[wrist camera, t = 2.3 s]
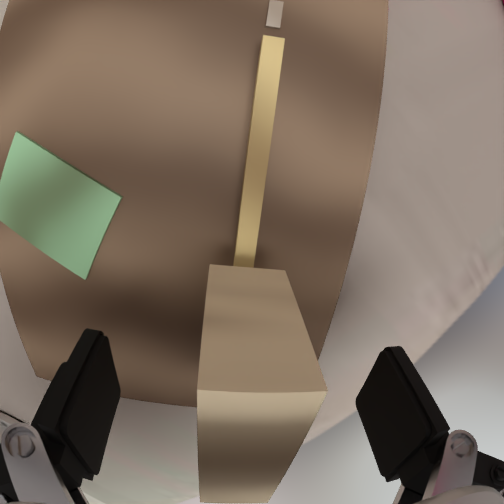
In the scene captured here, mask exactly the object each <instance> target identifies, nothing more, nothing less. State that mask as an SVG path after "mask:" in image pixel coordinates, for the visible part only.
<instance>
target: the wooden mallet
mask: <svg viewBox="0 0 504 504" xmlns="http://www.w3.org/2000/svg"><path fill="white" fill-rule="evenodd" d="M284 42H285V38H280V37H273V36H267V35H263V37H262V41H261V48H260V55H259V62H258V69H257V76H256V84H255V91H254V98H253V106H252V114H251V121H250V129H249V137H248V145H247V152H246V161H245V169H244V177H243V185H242V193H241V202H240V210H239V219H238V228H237V236H236V245H235V254H234V264H233V266H225V265H213V264H210V266H209V274H208V283H207V291H206V300H205V310H204V319H203V329H202V339H201V350H200V361H199V372H198V384H197V436H198V470H199V492H200V502H204V503H268V501H269V500H270V498H271V496H272V495H273V493H274V492H275V490H276V488H277V486H278V485H279V483H280V482H281V480H282V478H283V477H284V475H285V473H286V471H287V470H288V468H289V466H290V465H291V463H292V461H293V459H294V457H295V456H296V454H297V452H298V450H299V448H300V447H301V445H302V443H303V441H304V439H305V437H306V435H307V433H308V431H309V429H310V427H311V425H312V423H313V421H314V419H315V417H316V415H317V413H318V411H319V409H320V407H321V405H322V403H323V401H324V398H325V396H326V394H327V392H328V390H327V387H326V384H325V381H324V378H323V375H322V372H321V369H320V366H319V364H318V361H317V358H316V355H315V352H314V349H313V346H312V343H311V341H310V338H309V335H308V332H307V329H306V326H305V324H304V321H303V318H302V315H301V312H300V310H299V307H298V304H297V301H296V299H295V296H294V293H293V290H292V288H291V285H290V282H289V279H288V277H287V274H286V271H285V270H275V269H262V268H253V267H254V260H255V253H256V246H257V239H258V232H259V225H260V217H261V210H262V203H263V196H264V189H265V181H266V174H267V167H268V160H269V153H270V145H271V138H272V131H273V123H274V116H275V109H276V101H277V94H278V87H279V79H280V72H281V64H282V57H283V49H284Z"/></svg>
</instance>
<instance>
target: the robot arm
mask: <svg viewBox="0 0 504 504" xmlns="http://www.w3.org/2000/svg"><path fill="white" fill-rule="evenodd" d="M120 393H121V389H120V385H119V381H118V377H117V373H116V369H115V365H114V361H113V356H112V352H111V348H110V343H109V339H108V337H107V336H104V333H103V332H102V331H99V330H94V329H88V328H86V329H85V330H84V331H83V333H82V335H81V337H80V338H79V340H78V342H77V344H76V346H75V347H74V349H73V351H72V353H71V355H70V357H69V359H68V360H67V362H63V363H62V364H61V365H60V366H59V368H58V370H57V372H56V374H55V376H54V378H53V380H52V382H51V384H50V386H49V388H48V390H47V392H46V394H45V396H44V398H43V400H42V402H41V404H40V406H39V408H38V410H37V412H36V415H35V417H34V419H33V421H32V423H31V425H29V424H27V423H21V422H19V421H17V420H16V419H14V418H12V417H10V416H8V415H6V414H4V413H1V412H0V504H89V502H88V501H87V499H86V497H85V496H84V494H83V492H82V490H81V488H80V486H81V483H82V479H83V478H85V479H88V480H91V481H93V476H94V475H98V474H99V471H100V467H101V463H102V459H103V455H104V451H105V448H106V444H107V440H108V436H109V433H110V429H111V426H112V422H113V419H114V415H115V412H116V408H117V405H118V402H119V398H120ZM356 407H357V410H358V412H359V415H360V418H361V421H362V423H363V426H364V429H365V432H366V434H367V437H368V440H369V443H370V445H371V448H372V451H373V454H374V457H375V459H376V462H377V465H378V468H379V471H380V473H381V475H382V476H384V477H385V479H386V482H390V481H393V480H397V479H399V478H400V480H401V486H400V489H399V491H398V493H397V495H396V497H395V500H394V502H393V504H504V462H503V461H502V460H499V459H496V458H494V457H492V456H489V455H486V454H484V453H482V452H479V451H478V449H477V448H478V447H477V442H476V440H475V438H474V437H473V436H472V435H471V434H470V433H469V432H467V431H464V430H455V431H453V432H451V434H450V435H449V433H448V430H449V429H450V427H449V426H448V424H447V422H446V420H445V418H444V417H443V415H442V413H441V411H440V410H439V408H438V406H437V404H436V403H435V401H434V399H433V397H432V395H431V394H430V392H429V390H428V389H427V387H426V385H425V383H424V382H423V380H422V379H421V377H420V375H419V374H418V372H417V370H416V369H415V367H414V365H413V364H412V362H411V361H410V359H409V357H408V356H407V354H406V353H405V351H404V349H403V348H402V347H400V346H395V347H386V348H385V349H384V350H383V351H381V352H380V354H379V356H378V358H377V360H376V362H375V364H374V366H373V368H372V370H371V372H370V374H369V375H368V377H367V379H366V381H365V383H364V385H363V387H362V389H361V390H360V392H359V394H358V396H357V398H356Z"/></svg>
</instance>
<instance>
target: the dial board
mask: <svg viewBox="0 0 504 504" xmlns="http://www.w3.org/2000/svg"><path fill="white" fill-rule="evenodd" d="M387 24H388V0H9V3H8V6H7V9H6V12H5V16H4V19H3V23H2V26H1V30H0V272H1V276H2V280H3V284H4V288H5V292H6V295H7V299H8V302H9V305H10V309H11V312H12V315H13V318H14V321H15V324H16V327H17V329H18V332H19V335H20V338H21V340H22V343H23V345H24V348H25V351H26V353H27V355H28V358H29V360H30V362H31V365H32V367H33V369H34V372H35V374H36V376H37V377H40V378H44V379H47V380H50V381H52V380H53V378H54V376H55V374H56V372H57V370H58V368H59V366H60V365H61V364H62V363H63V362H67V360H68V359H69V357H70V355H71V353H72V351H73V349H74V347H75V346H76V344H77V342H78V340H79V338H80V337H81V335H82V333H83V331H84V330H85V329H86V328H88V329H94V330H99V331H102V332H103V333H104V336H107V337H108V339H109V343H110V348H111V352H112V356H113V361H114V365H115V369H116V373H117V377H118V381H119V385H120V389H121V393H120V397H123V398H129V399H135V400H141V401H147V402H155V403H162V404H170V405H179V406H190V407H197V384H198V372H199V361H200V350H201V339H202V329H203V319H204V310H205V300H206V291H207V283H208V274H209V266H210V264H213V265H225V266H233V264H234V254H235V245H236V236H237V228H238V219H239V210H240V202H241V193H242V185H243V177H244V169H245V161H246V152H247V145H248V137H249V129H250V121H251V114H252V106H253V98H254V91H255V84H256V76H257V69H258V62H259V55H260V48H261V41H262V37H263V35H267V36H273V37H280V38H285V42H284V49H283V57H282V64H281V72H280V79H279V87H278V94H277V101H276V109H275V116H274V123H273V131H272V138H271V145H270V153H269V160H268V167H267V174H266V181H265V189H264V196H263V203H262V210H261V217H260V225H259V232H258V239H257V246H256V253H255V260H254V267H253V268H262V269H275V270H285V271H286V274H287V277H288V279H289V282H290V285H291V288H292V290H293V293H294V296H295V299H296V301H297V304H298V307H299V310H300V312H301V315H302V318H303V321H304V324H305V326H306V329H307V332H308V335H309V338H310V341H311V343H312V346H313V349H314V352H315V355H316V358H317V361H318V359H319V356H320V353H321V350H322V347H323V344H324V342H325V339H326V336H327V333H328V330H329V326H330V323H331V320H332V317H333V314H334V311H335V308H336V304H337V301H338V298H339V294H340V291H341V288H342V284H343V281H344V277H345V274H346V270H347V266H348V263H349V259H350V255H351V251H352V247H353V244H354V240H355V236H356V231H357V227H358V223H359V219H360V214H361V210H362V206H363V201H364V196H365V192H366V187H367V182H368V177H369V172H370V166H371V161H372V155H373V150H374V144H375V138H376V131H377V125H378V118H379V111H380V103H381V95H382V87H383V78H384V67H385V56H386V42H387Z"/></svg>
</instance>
